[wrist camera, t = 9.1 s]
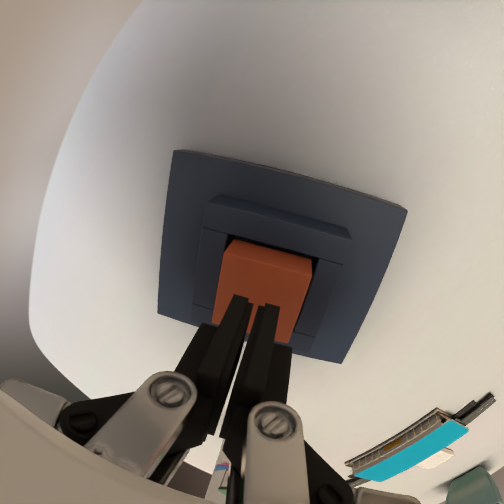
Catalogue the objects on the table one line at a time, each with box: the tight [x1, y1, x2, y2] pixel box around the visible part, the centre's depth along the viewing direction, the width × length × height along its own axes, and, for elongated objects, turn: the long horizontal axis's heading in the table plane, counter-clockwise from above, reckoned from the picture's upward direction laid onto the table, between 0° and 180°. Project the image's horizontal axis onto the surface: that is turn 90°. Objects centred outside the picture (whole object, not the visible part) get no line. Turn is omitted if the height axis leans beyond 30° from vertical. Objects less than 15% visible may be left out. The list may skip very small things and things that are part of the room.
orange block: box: [212, 239, 312, 343], centre depth 13 cm, size 4×4×2 cm
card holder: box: [345, 393, 496, 487], centre depth 20 cm, size 20×12×2 cm, turn 146°
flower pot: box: [446, 466, 503, 504], centre depth 19 cm, size 9×9×9 cm
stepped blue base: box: [157, 150, 408, 364], centre depth 15 cm, size 12×10×3 cm
